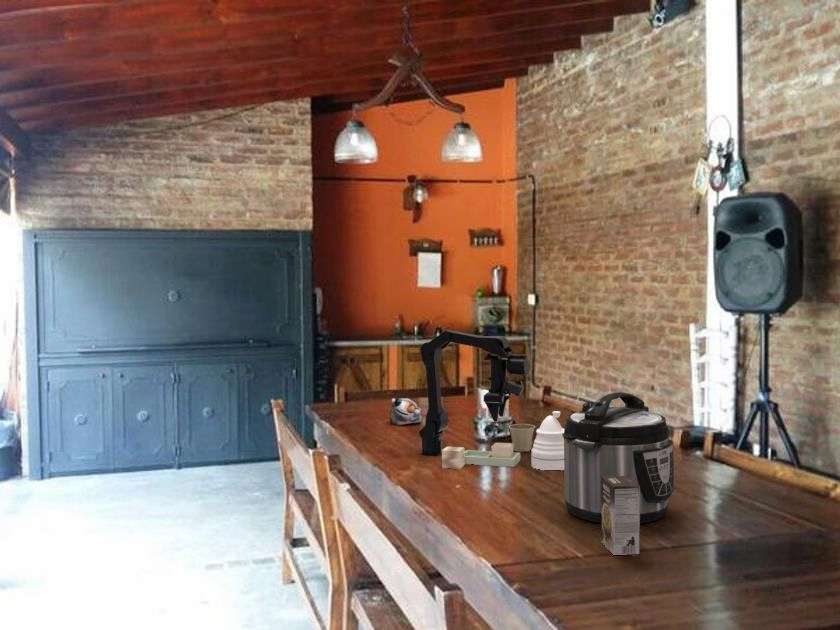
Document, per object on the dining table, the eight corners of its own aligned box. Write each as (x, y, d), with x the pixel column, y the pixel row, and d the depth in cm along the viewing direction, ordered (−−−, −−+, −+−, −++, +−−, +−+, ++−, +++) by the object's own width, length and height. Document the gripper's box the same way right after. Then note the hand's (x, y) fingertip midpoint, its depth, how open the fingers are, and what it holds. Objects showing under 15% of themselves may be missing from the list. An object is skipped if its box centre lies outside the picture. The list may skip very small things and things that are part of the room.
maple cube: (442, 468, 273) (441, 450, 273) (447, 464, 279) (447, 446, 278) (459, 469, 271) (459, 451, 271) (464, 465, 277) (464, 447, 277)
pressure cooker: (586, 534, 203) (585, 405, 201) (543, 503, 230) (542, 389, 228) (697, 523, 209) (697, 398, 208) (643, 494, 237) (642, 383, 235)
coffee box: (600, 543, 196) (599, 475, 195) (627, 542, 196) (626, 474, 195) (612, 556, 187) (612, 485, 186) (640, 555, 187) (640, 484, 186)
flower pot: (534, 453, 291) (534, 429, 291) (507, 453, 293) (507, 428, 293) (536, 447, 301) (536, 424, 300) (510, 447, 302) (509, 423, 302)
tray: (458, 463, 279) (457, 446, 278) (466, 457, 288) (466, 440, 288) (514, 466, 272) (513, 448, 272) (520, 460, 282) (520, 442, 282)
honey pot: (575, 463, 276) (574, 409, 275) (565, 472, 264) (564, 416, 263) (538, 460, 281) (537, 407, 280) (526, 469, 269) (525, 413, 268)
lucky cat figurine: (427, 421, 358) (429, 395, 350) (413, 436, 349) (415, 410, 341) (397, 409, 363) (398, 383, 356) (383, 424, 354) (383, 398, 347)
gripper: (516, 378, 271) (516, 425, 272) (526, 370, 289) (526, 415, 290) (483, 376, 274) (483, 423, 275) (495, 369, 292) (495, 413, 293)
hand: (498, 419), depth 283 cm, fingers open, 9 cm apart
